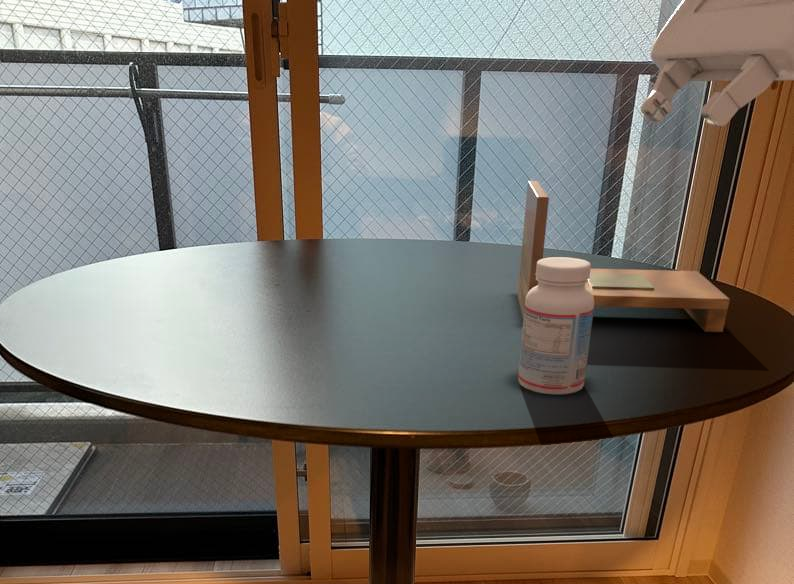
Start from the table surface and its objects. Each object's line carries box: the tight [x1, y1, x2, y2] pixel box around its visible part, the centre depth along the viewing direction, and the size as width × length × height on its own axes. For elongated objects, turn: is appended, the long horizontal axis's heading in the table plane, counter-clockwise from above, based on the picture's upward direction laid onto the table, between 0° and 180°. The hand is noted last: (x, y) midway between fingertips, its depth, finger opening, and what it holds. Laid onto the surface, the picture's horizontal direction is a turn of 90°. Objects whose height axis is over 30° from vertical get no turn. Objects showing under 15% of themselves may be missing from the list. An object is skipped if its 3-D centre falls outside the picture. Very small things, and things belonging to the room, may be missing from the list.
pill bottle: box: [518, 256, 595, 395], centre depth 72 cm, size 6×6×11 cm
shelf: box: [517, 180, 731, 333], centre depth 93 cm, size 22×14×14 cm, turn 86°
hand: (677, 118), depth 66 cm, fingers open, 8 cm apart
